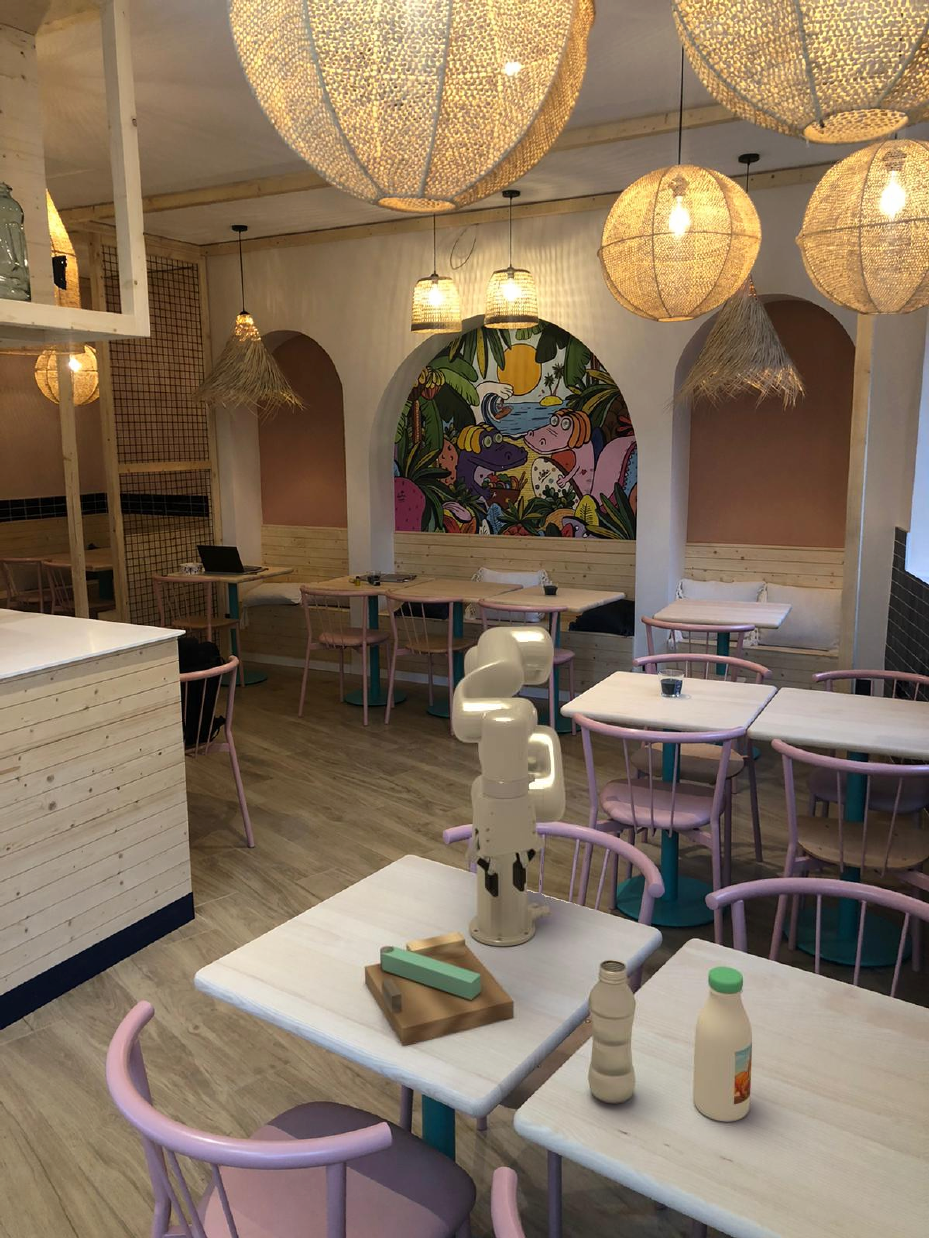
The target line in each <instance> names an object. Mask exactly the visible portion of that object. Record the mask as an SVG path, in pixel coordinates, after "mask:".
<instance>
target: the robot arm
mask: <svg viewBox="0 0 929 1238" xmlns="http://www.w3.org/2000/svg"><path fill="white" fill-rule="evenodd" d="M554 649H555V648H554V643H553V638H552V636H551V635H550V633H549V632H548V631H547V630H546V629H545V628H543V627H541V626H496V627H491V628H489V629H486V631H484V632H483V633H482V634H481V635H480V637H479V639H478V641H477V645H475V646H472V647H470V648H469V649H468V650H467V651H466V653H465V655H464V664H463V665H464V667H463V669H464V677H463V678H462V679H460V681H459V682H458V684H457V685H456V687H455V690H454V692H453V698H452V699H453V700H452V711H451V713H452V714H451V719H452V720H451V722H452V723H451V724H452V730H453V732H454V735H455V737H456V738H457V739H458V740H459V741H461V742H463V743H468V744H469V743H471V744H474V743H475V744H478V745H477V746H478V750H477V751H478V758H479V763H480V766H481V774H480V775H478V776H477V777H476V778H475V779H474V781H473V782H472V784H471V785H472V786H471V792H470V797H471V805H472V810H473V811H472V812H473V814H472V827H471V843H470V845H469V847H468V848H467V850H466V852H465V854H464V858H466V860H468V862H471V863H473V864H475V865H476V900H477V904H476V907H477V908H476V909H477V910H476V911H477V913H476V914H477V915H476V916H474V917H473V918H472V919H471V921H470V922H469V924H468V925H469V933H470V935H471V936H472V937H473V939H475V940H476V941H478V942H480V943H482V944H485V945H488V946H489V945H490V946H495V947H496V946H497V947H509V946H510V947H511V946H512V947H513V946H516V945H519V944H523V943H525V942H527V941H529V940H530V939H532V937H534V935H535V933H536V924H535V922H534V921H536V920H537V918H544V917H549V916H550V915H551V909H550V905H542V906H539V903H538V902H532V903H530V904H528V868H529V866H530V863H531V861H532V860H533V858H534V857H535V856H536V854H537V853H539V851H541V849H542V848H544V847H545V845H546V843H545V842H544V840H543V838H542V837H541V835H540V834H539V833H538V830H537V829H538V828H537V827H538V826H537V825H538V824H542V823H543V824H546V823H547V824H549V823H555V822H558V821H559V820H561V819H562V818H563V816H564V814H565V809H566V789H565V779H564V769H563V758H562V757H563V755H562V749H561V748H562V747H561V742H560V738H559V736H558V733H557V732H556V730H555V729H554V728H553V727H551V726H548V725H544V724H543V725H542V724H538V721H539V720H538V719H539V718H538V711H537V708H536V707H535V705H534V704H533V703H532V701H530V700H529V699H528V698H524V697H513V696H515V695H516V694H518V692H519V691H520V690H521V689H522V687H523V686H524V685H540V684H544V683H546V682H547V680H548V679H549V676H550V675H551V670H552V667H553V663H554V657H555V651H554Z"/></svg>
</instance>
